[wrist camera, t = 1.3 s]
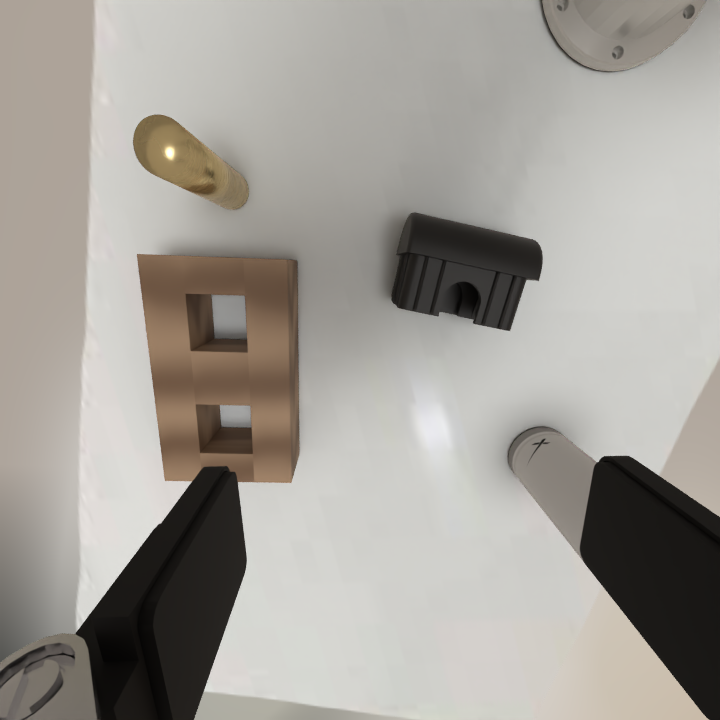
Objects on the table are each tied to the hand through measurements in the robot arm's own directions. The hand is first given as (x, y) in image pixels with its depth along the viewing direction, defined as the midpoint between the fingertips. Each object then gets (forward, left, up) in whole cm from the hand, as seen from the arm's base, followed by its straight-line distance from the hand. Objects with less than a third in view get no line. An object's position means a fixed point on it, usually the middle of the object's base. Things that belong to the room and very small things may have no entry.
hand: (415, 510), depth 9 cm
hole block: (+3, -12, -24) cm, 28 cm away
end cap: (-6, +7, -25) cm, 26 cm away
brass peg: (-12, -12, -24) cm, 30 cm away
